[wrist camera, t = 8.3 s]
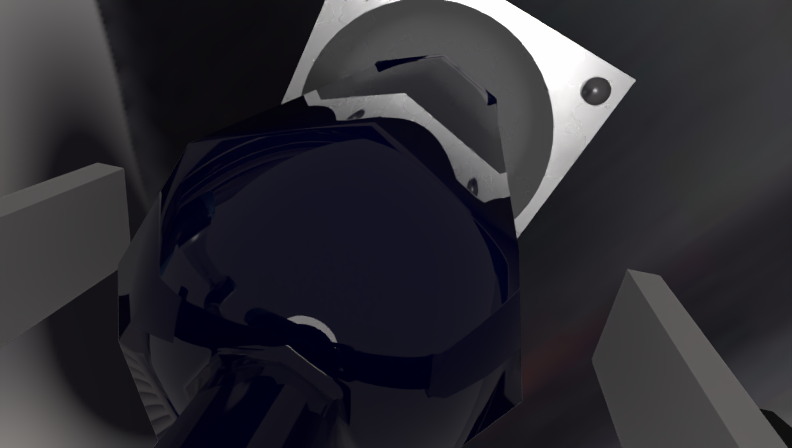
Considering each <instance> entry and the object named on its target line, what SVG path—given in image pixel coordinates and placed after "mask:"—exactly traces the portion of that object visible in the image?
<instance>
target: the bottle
mask: <svg viewBox="0 0 792 448" xmlns="http://www.w3.org/2000/svg"><path fill="white" fill-rule="evenodd" d="M118 341H119V343H120V346H121V348H122V351H123V353H124V356H125V358H126V361H127V363H128V366H129V368H130V371H131V373H132V376H133V378H134V381H135V384H136V386H137V388H138V391H139V394H140V396H141V399H142V401H143V404H144V406H145V409H146V411H147V413H148V416H149V419H150V421H151V423H152V426H153V428H154V431H155V434H156V436H157V439H158V443H157V444H156V445H155V446H154V448H461V447H462V446H463V445H465V444H466V443H467V442H469V441H470V440H471V439H473V438H474V437H475V436H477V435H478V434H479V433H481V432H482V431H483V430H485V429H486V428H487V427H489V426H490V425H491V424H493V423H494V422H495V421H497V420H498V419H499V418H501V417H502V416H503V415H505V414H506V413H507V412H509V411H510V410H511V409H512V408H514V407H515V406H516V405H518V404H519V403H520V402H522V373H521V328H520V283H519V249H518V242H517V235H516V228H515V222H514V216H513V210H512V204H511V198H510V192H509V186H508V180H507V174H506V168H505V162H504V156H503V150H502V144H501V138H500V132H499V126H498V116H497V99H496V98H495V97H494V96H493V95H492V94H491V93H490V92H488V91H487V90H486V89H485V88H484V87H483V86H482V85H480V84H479V83H478V82H477V81H476V80H475V79H474V78H472V77H471V76H470V75H469V74H468V73H467V72H465V71H464V70H463V69H462V68H461V67H460V66H459V65H457V64H456V63H455V62H454V61H453V60H452V59H451V58H449V57H448V56H447V55H446V54H445V53H444V54H435V55H426V56H418V57H409V58H400V59H392V60H383V61H377V62H376V63H375V65H374V66H372V67H369V68H367V69H365V70H362V71H360V72H357V73H355V74H353V75H350V76H348V77H345V78H343V79H341V80H338V81H336V82H333V83H331V84H329V85H326V86H324V87H321V88H319V89H317V90H314V91H312V92H309V93H307V94H305V95H302V96H300V97H297V98H295V99H293V100H290V101H288V102H285V103H283V104H281V105H278V106H276V107H273V108H271V109H269V110H266V111H264V112H262V113H259V114H257V115H254V116H252V117H250V118H247V119H245V120H242V121H240V122H238V123H235V124H233V125H230V126H228V127H226V128H223V129H221V130H218V131H216V132H214V133H211V134H209V135H207V136H205V137H202V138H200V139H198V140H195V141H193V142H191V143H189V144H188V145H187V147H186V149H185V150H184V152H183V154H182V155H181V157H180V159H179V161H178V162H177V164H176V166H175V167H174V169H173V171H172V173H171V174H170V176H169V178H168V179H167V181H166V183H165V185H164V186H163V188H162V190H161V192H160V193H159V195H158V197H157V198H156V200H155V202H154V204H153V205H152V207H151V209H150V210H149V212H148V214H147V216H146V218H145V219H144V221H143V222H142V224H141V226H140V228H139V230H138V231H137V233H136V235H135V236H134V238H133V240H132V241H131V243H130V245H129V247H128V248H127V250H126V252H125V253H124V255H123V257H122V259H121V260H120V262H119V264H118Z"/></svg>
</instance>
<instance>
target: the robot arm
mask: <svg viewBox="0 0 792 448" xmlns="http://www.w3.org/2000/svg"><path fill="white" fill-rule="evenodd" d="M129 245H130V231H129V220H128V208H127V196H126V184H125V172H124V168H121V167H116V166H111V165H106V164H101V163H95V164H93V165H90V166H87V167H84V168H81V169H78V170H75V171H73V172H70V173H67V174H64V175H62V176H59V177H56V178H53V179H51V180H47V181H45V182H42V183H39V184H36V185H33V186H31V187H28V188H25V189H22V190H19V191H16V192H14V193H11V194H8V195H5V196H2V197H0V348H1V347H3V346H4V345H6V344H7V343H9V342H10V341H12V340H13V339H15V338H16V337H18V336H19V335H21V334H22V333H24V332H25V331H27V330H28V329H29V328H31V327H32V326H34V325H36V324H37V323H39V322H40V321H42V320H43V319H44V318H46V317H47V316H49V315H51V314H52V313H54V312H55V311H56V310H58V309H59V308H61V307H62V306H64V305H65V304H67V303H68V302H70V301H71V300H73V299H74V298H76V297H77V296H79V295H80V294H82V293H83V292H85V291H86V290H88V289H89V288H91V287H92V286H94V285H95V284H96V283H98V282H100V281H101V280H103V279H104V278H105V277H107V276H108V275H110V274H112V273H113V272H115V271H116V270H118V264H119V262H120V260H121V259H122V257H123V255H124V253H125V252H126V250H127V248H128V247H129ZM592 363H593V366H594V368H595V371H596V374H597V377H598V380H599V383H600V386H601V389H602V391H603V394H604V397H605V400H606V403H607V406H608V409H609V412H610V414H611V417H612V420H613V423H614V426H615V429H616V432H617V435H618V437H619V440H620V443H621V446H622V448H792V428H791V427H790V426H789V425H788V424H787V423H785V422H784V421H783V420H782V419H781V418H780V417H778V416H777V415H776V414H775V413H774V412H772V411H767V410H763V409H759V408H758V407H757V405H756V404H755V403H754V401H753V400H752V399H751V397H750V396H749V395H748V393H747V392H746V391H745V389H744V388H743V387H742V385H741V384H740V383H739V381H738V380H737V379H736V377H735V376H734V375H733V373H732V372H731V371H730V369H729V368H728V366H727V365H726V364H725V362H724V361H723V360H722V358H721V357H720V356H719V354H718V353H717V352H716V350H715V349H714V348H713V346H712V345H711V344H710V342H709V341H708V340H707V338H706V337H705V336H704V334H703V333H702V332H701V330H700V329H699V327H698V326H697V325H696V323H695V322H694V321H693V319H692V318H691V317H690V315H689V314H688V313H687V311H686V310H685V309H684V307H683V306H682V305H681V303H680V302H679V301H678V299H677V298H676V297H675V295H674V294H673V293H672V291H671V290H670V288H669V287H668V286H667V284H666V283H665V282H664V280H663V279H662V278H661V276H659V275H654V274H649V273H644V272H639V271H634V270H629V269H627V271H626V274H625V276H624V279H623V281H622V284H621V286H620V289H619V291H618V294H617V297H616V299H615V302H614V304H613V307H612V309H611V312H610V314H609V317H608V319H607V322H606V324H605V327H604V330H603V332H602V335H601V337H600V340H599V342H598V345H597V347H596V350H595V352H594V355H593V357H592Z"/></svg>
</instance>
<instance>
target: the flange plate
mask: <svg viewBox="0 0 792 448" xmlns="http://www.w3.org/2000/svg"><path fill="white" fill-rule="evenodd" d="M444 53H445V54H446V55H447V56H448V57H449V58H451V59H452V60H453V61H454V62H455V63H456V64H457V65H459V66H460V67H461V68H462V69H463V70H464V71H465V72H467V73H468V74H469V75H470V76H471V77H472V78H474V79H475V80H476V81H477V82H478V83H479V84H480V85H482V86H483V87H484V88H485V89H486V90H487V91H488V92H490V93H491V94H492V95H493V96H494V97H495V98H496V99H497V116H498V126H499V132H500V138H501V144H502V150H503V156H504V162H505V168H506V174H507V180H508V186H509V192H510V198H511V204H512V210H513V216H514V222H515V228H516V235H517V238H518V237H519V235H520V234H521V233H522V231H523V230H524V229H525V227H526V226H527V225H528V223H529V222H530V221H531V219H532V218H533V217H534V215H535V214H536V213H537V211H538V210H539V209H540V207H541V206H542V205H543V203H544V202H545V201H546V199H547V198H548V197H549V195H550V194H551V193H552V191H553V190H554V189H555V187H556V186H557V185H558V183H559V182H560V181H561V179H562V178H563V177H564V175H565V174H566V173H567V171H568V170H569V169H570V167H571V166H572V165H573V163H574V162H575V161H576V159H577V158H578V157H579V155H580V154H581V153H582V151H583V150H584V149H585V147H586V146H587V145H588V143H589V142H590V141H591V139H592V138H593V137H594V135H595V134H596V133H597V131H598V130H599V129H600V127H601V126H602V125H603V123H604V122H605V121H606V119H607V118H608V117H609V115H610V114H611V113H612V111H613V110H614V109H615V107H616V106H617V105H618V103H619V102H620V101H621V99H622V98H623V97H624V95H625V94H626V93H627V91H628V90H629V89H630V87H631V86H632V85H633V83H634V82H635V81H636V80H635V79H633V78H632V77H630V76H628V75H627V74H625V73H623V72H622V71H620V70H618V69H617V68H615V67H614V66H612V65H610V64H609V63H607V62H605V61H604V60H602V59H600V58H599V57H597V56H596V55H594V54H592V53H591V52H589V51H587V50H586V49H584V48H583V47H581V46H579V45H578V44H576V43H574V42H573V41H571V40H569V39H568V38H566V37H565V36H563V35H561V34H560V33H558V32H556V31H555V30H553V29H551V28H550V27H548V26H547V25H545V24H543V23H542V22H540V21H538V20H537V19H535V18H534V17H532V16H530V15H529V14H527V13H525V12H524V11H522V10H520V9H519V8H517V7H516V6H514V5H512V4H511V3H509V2H507V1H506V0H325V2H324V5H323V7H322V10H321V12H320V14H319V17H318V19H317V21H316V24H315V26H314V28H313V31H312V33H311V35H310V38H309V40H308V42H307V45H306V47H305V49H304V52H303V54H302V57H301V59H300V61H299V64H298V66H297V68H296V71H295V73H294V75H293V78H292V80H291V82H290V85H289V87H288V89H287V92H286V94H285V96H284V99H283V101H282V103H281V104H283V103H285V102H288V101H290V100H293V99H295V98H297V97H300V96H302V95H305V94H307V93H309V92H312V91H314V90H317V89H319V88H321V87H324V86H326V85H329V84H331V83H333V82H336V81H338V80H341V79H343V78H345V77H348V76H350V75H353V74H355V73H357V72H360V71H362V70H365V69H367V68H369V67H372V66H374V65H375V63H376V62H377V61H383V60H392V59H400V58H409V57H418V56H426V55H435V54H444Z"/></svg>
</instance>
